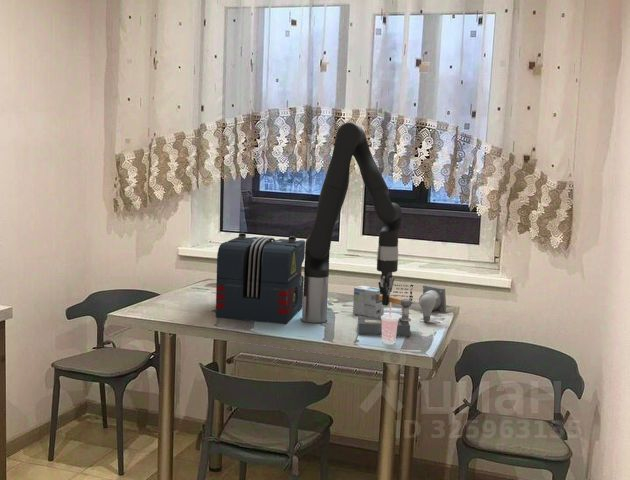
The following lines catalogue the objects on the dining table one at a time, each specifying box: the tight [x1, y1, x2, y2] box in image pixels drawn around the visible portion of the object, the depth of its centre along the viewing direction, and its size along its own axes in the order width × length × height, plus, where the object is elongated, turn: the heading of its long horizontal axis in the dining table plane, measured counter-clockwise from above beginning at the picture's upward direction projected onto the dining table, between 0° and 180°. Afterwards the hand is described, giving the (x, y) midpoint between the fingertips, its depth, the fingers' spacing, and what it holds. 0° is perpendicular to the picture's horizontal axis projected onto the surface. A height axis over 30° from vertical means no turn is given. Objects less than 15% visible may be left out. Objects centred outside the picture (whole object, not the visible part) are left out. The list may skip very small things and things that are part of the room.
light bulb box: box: [352, 285, 385, 317], centre depth 267 cm, size 11×7×11 cm, turn 56°
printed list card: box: [389, 284, 447, 313], centre depth 280 cm, size 27×11×10 cm, turn 85°
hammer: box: [375, 293, 412, 307], centre depth 248 cm, size 15×4×2 cm, turn 48°
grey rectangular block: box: [356, 306, 412, 338], centre depth 242 cm, size 19×10×9 cm, turn 89°
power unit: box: [215, 232, 306, 325], centre depth 262 cm, size 28×28×30 cm
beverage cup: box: [380, 302, 400, 345], centre depth 229 cm, size 6×6×14 cm
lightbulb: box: [419, 294, 436, 323], centre depth 259 cm, size 6×6×11 cm
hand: (385, 304), depth 246 cm, fingers closed
